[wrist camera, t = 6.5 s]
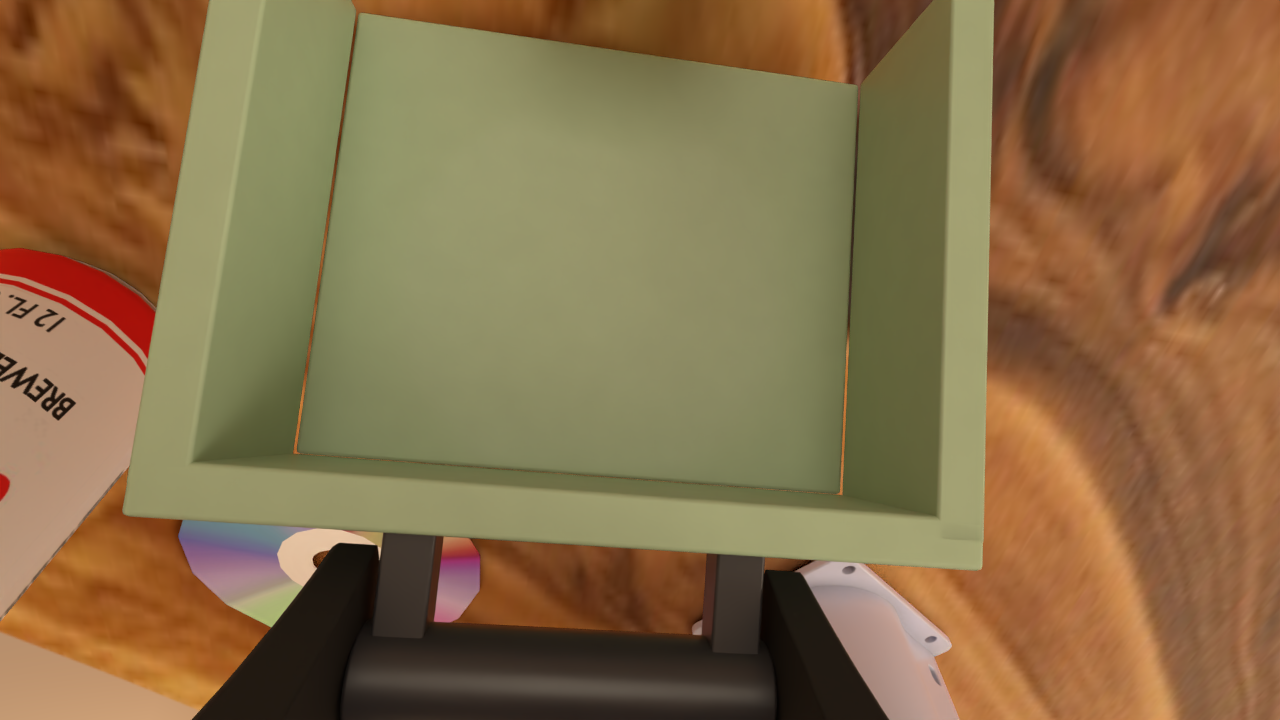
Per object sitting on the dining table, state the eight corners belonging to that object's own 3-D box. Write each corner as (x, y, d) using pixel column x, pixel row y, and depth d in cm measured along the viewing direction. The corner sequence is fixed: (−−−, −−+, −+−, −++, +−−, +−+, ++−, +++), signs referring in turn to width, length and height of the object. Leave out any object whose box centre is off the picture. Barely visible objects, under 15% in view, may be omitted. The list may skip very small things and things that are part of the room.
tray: (852, 676, 14) (979, 782, 10) (239, 649, 13) (76, 759, 9) (876, 105, 16) (995, -18, 11) (331, 27, 14) (232, -146, 10)
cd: (499, 638, 29) (499, 640, 29) (243, 646, 29) (242, 648, 29) (457, 456, 22) (456, 457, 22) (123, 464, 22) (122, 465, 22)
